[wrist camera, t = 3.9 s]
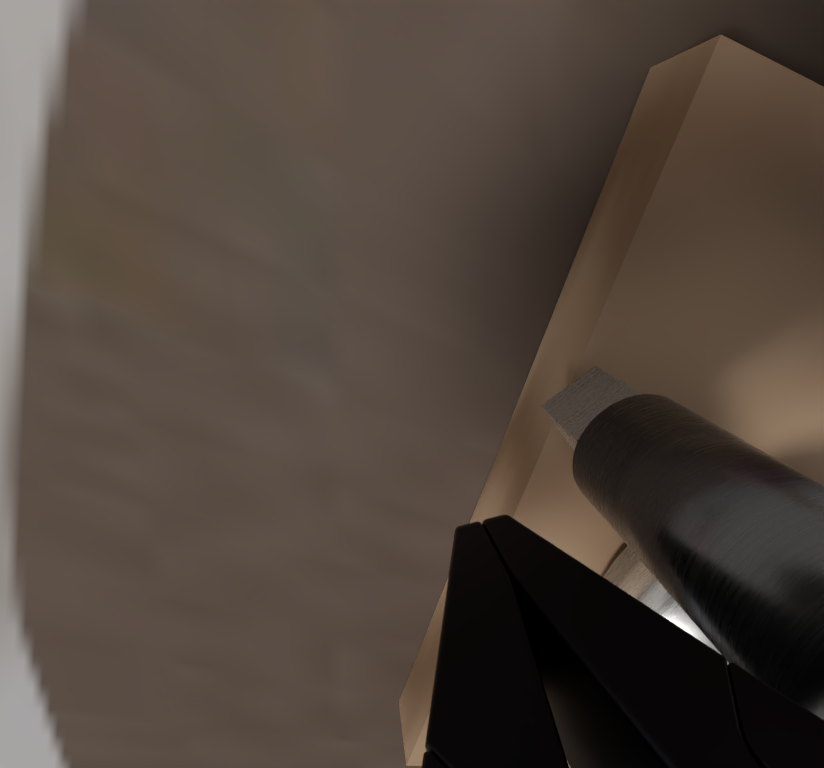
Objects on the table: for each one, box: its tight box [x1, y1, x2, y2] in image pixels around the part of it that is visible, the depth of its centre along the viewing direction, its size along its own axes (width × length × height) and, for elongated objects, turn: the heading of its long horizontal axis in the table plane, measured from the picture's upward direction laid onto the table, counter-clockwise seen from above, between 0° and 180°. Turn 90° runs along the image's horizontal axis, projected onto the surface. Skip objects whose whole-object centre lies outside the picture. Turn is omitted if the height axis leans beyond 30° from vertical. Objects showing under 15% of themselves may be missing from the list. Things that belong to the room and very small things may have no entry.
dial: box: [541, 365, 824, 720], centre depth 9 cm, size 13×8×6 cm, turn 38°
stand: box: [399, 35, 824, 768], centre depth 13 cm, size 20×12×2 cm, turn 163°
